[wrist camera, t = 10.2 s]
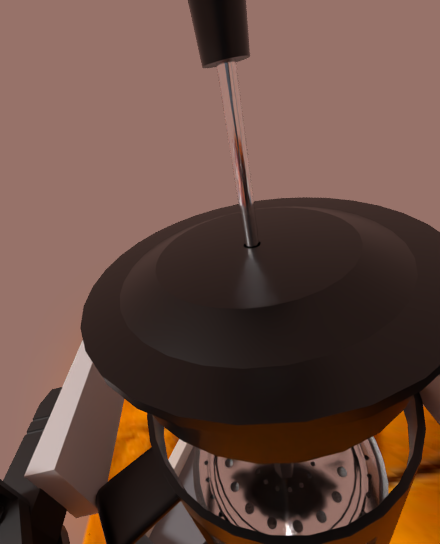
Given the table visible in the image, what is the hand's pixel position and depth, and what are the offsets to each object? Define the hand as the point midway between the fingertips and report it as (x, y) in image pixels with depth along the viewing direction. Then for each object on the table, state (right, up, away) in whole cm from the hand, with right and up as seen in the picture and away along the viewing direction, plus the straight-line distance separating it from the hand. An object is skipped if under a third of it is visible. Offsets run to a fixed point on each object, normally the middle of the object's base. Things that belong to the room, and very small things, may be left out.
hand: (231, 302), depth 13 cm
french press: (+3, -13, +3) cm, 13 cm away
